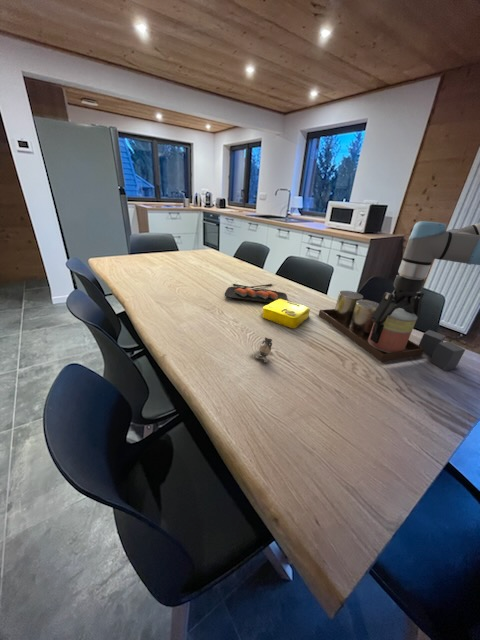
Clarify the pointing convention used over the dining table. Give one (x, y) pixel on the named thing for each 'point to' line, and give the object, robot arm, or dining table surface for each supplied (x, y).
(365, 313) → the tin
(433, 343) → the grey block
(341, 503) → the dining table surface
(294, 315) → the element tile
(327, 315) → the tray
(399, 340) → the canned food
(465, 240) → the robot arm
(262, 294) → the sushi plate
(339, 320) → the tin
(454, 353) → the grey block
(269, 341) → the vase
